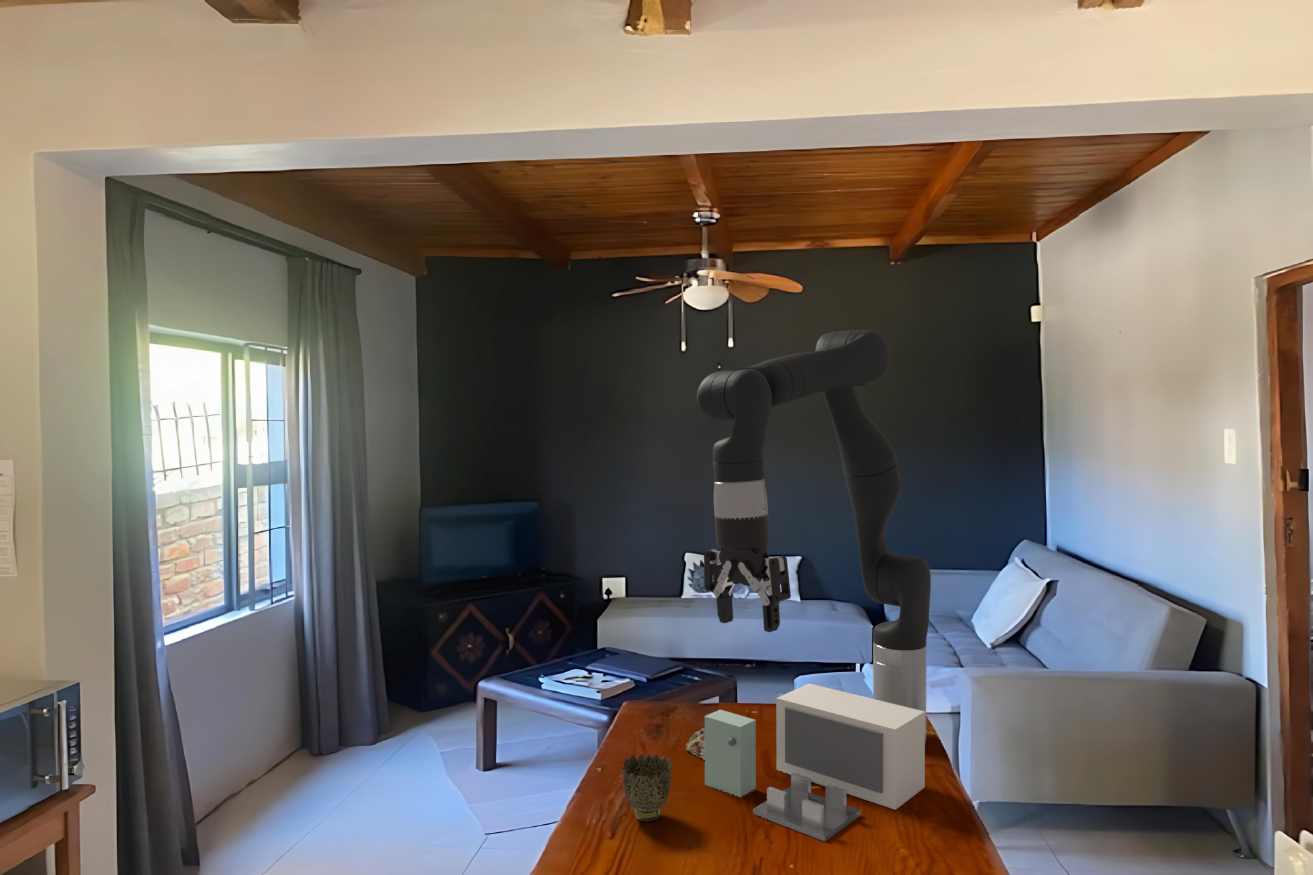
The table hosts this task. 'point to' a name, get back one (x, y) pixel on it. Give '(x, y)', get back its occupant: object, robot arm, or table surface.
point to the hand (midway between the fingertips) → (748, 626)
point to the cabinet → (852, 743)
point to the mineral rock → (697, 744)
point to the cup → (647, 784)
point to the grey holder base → (808, 808)
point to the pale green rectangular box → (730, 752)
